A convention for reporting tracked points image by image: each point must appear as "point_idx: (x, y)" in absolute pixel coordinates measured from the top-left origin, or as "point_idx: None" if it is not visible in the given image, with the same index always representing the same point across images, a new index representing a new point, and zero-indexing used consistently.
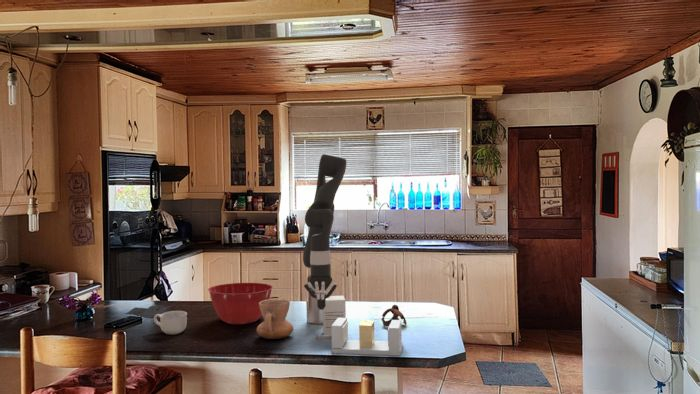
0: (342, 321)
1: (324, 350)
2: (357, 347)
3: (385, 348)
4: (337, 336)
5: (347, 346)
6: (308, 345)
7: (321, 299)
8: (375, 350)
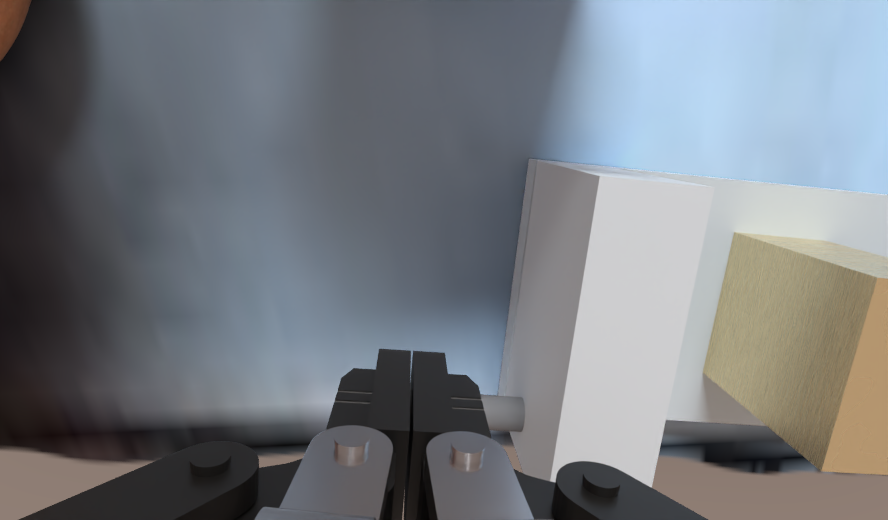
0: (657, 363)
1: (437, 340)
2: (687, 372)
3: None
4: None
5: None
6: (291, 218)
7: (411, 510)
8: None
